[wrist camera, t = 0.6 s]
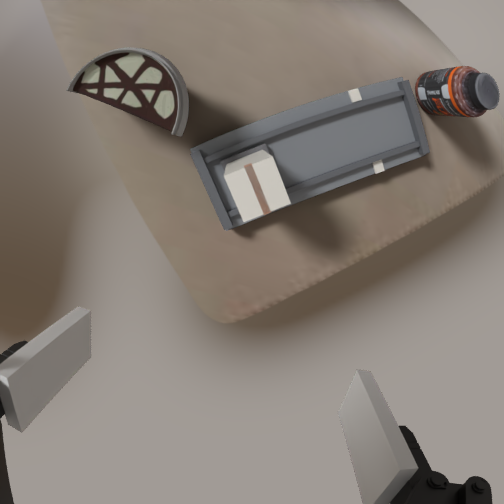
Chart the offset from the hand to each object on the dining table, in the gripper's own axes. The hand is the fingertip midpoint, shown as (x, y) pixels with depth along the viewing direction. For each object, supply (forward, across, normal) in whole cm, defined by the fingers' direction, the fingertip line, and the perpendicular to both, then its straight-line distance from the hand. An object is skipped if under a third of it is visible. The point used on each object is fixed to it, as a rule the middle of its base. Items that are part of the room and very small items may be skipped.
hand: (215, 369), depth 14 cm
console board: (+24, +5, +14) cm, 29 cm away
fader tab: (+22, -1, +9) cm, 24 cm away
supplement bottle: (+25, +19, +26) cm, 40 cm away
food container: (+22, -14, +17) cm, 31 cm away
